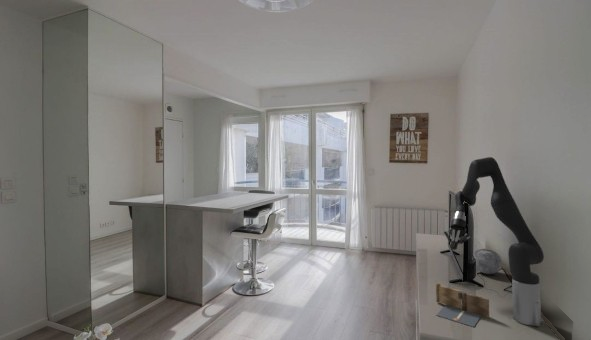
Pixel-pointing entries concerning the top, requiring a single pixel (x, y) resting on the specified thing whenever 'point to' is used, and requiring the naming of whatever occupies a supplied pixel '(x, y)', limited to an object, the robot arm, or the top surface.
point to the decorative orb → (487, 261)
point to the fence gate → (448, 296)
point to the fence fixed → (475, 304)
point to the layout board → (459, 315)
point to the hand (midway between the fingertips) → (453, 249)
